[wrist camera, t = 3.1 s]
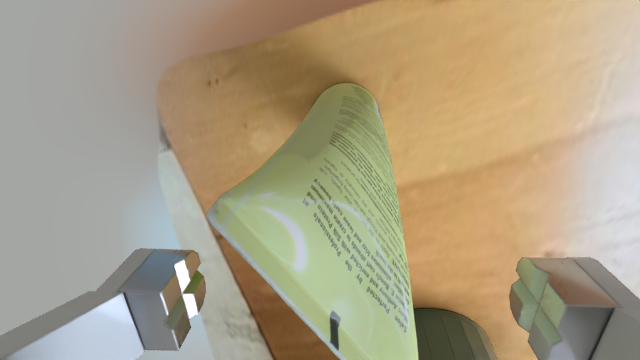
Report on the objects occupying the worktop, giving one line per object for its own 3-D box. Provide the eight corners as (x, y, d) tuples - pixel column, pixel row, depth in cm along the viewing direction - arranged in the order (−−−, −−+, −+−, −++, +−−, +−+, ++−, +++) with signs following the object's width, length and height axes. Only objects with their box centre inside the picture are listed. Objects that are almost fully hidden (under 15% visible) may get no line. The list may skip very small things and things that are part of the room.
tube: (297, 138, 25) (185, 403, 7) (311, 70, 23) (201, 216, 5) (369, 155, 25) (427, 454, 8) (389, 90, 23) (539, 294, 5)
